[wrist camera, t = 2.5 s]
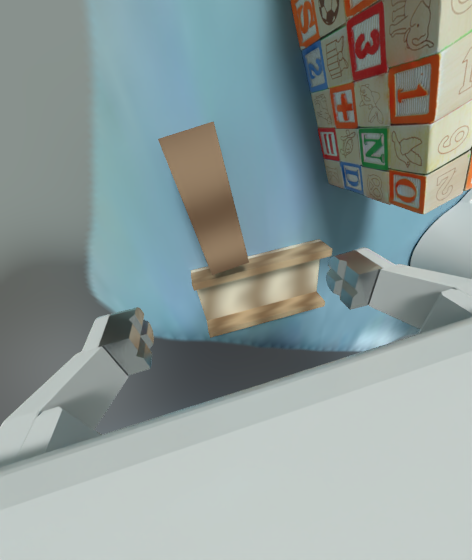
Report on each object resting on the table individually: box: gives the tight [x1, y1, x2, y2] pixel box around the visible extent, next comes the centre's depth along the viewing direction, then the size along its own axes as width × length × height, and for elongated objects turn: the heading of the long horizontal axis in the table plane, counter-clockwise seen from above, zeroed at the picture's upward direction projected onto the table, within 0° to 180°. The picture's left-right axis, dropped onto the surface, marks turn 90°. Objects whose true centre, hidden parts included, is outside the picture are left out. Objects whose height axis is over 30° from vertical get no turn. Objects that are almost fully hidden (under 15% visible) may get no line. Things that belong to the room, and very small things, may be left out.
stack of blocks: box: [291, 0, 472, 214], centre depth 14 cm, size 21×6×12 cm, turn 29°
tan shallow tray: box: [191, 239, 332, 338], centre depth 30 cm, size 18×10×3 cm, turn 99°
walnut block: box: [158, 122, 249, 275], centre depth 20 cm, size 12×4×6 cm, turn 15°
